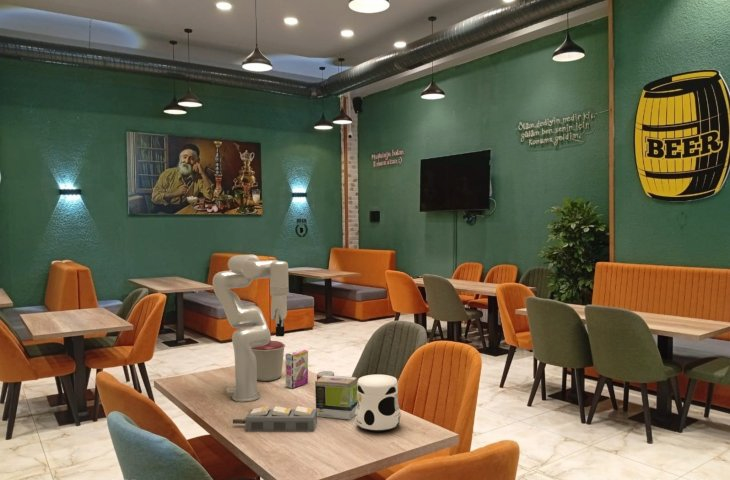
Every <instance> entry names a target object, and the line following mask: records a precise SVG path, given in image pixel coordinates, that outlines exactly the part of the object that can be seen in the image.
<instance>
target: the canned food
mask: <svg viewBox="0 0 730 480" xmlns="http://www.w3.org/2000/svg"><path fill="white" fill-rule="evenodd" d="M324 375H330V376H335V372H333V371H330V370H321V371H319V372H317V373H316V380H318V379H319V378H321V377H322V376H324Z"/></svg>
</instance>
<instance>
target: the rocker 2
mask: <svg viewBox="0 0 730 480" xmlns="http://www.w3.org/2000/svg"><path fill="white" fill-rule="evenodd" d="M273 409H274V410H273V414H272V415H277V416H289V414H290V411H291V409H292V408H289V407H288V408H287V407H284V406H283V407H282V406H278V405H276V406H275V407H274V408H273Z"/></svg>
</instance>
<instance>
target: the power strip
mask: <svg viewBox="0 0 730 480" xmlns="http://www.w3.org/2000/svg"><path fill="white" fill-rule="evenodd" d="M253 409H254V408H250V410H249V412H248V413H247V414H246V415H245V418H243V419H242V418H235V419H232V424H236V425H237V424H243V425H244V424H245V427H244V428H245V429H244V430H245V432H314V431H315V429H316V427H317V424H318V416H317V409H316V408H315V409H314V408H312V409H313V410H312V413H311V415H310V416H299V415H295V410H296V408H290V409H291V411H290V414H289V416H277V415H272V414H273V410H274V408H272V409H271V408H269V411H268V413H267V414H266V415H261V416H251V415H250V413H251V412H252V410H253Z"/></svg>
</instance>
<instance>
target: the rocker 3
mask: <svg viewBox="0 0 730 480" xmlns="http://www.w3.org/2000/svg"><path fill="white" fill-rule="evenodd" d="M295 409H296V410H295V415H299V416H310V415H311V413H312V410H313V409H314V408H309V407H305V406H301V405H297V407H296V408H295Z"/></svg>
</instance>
